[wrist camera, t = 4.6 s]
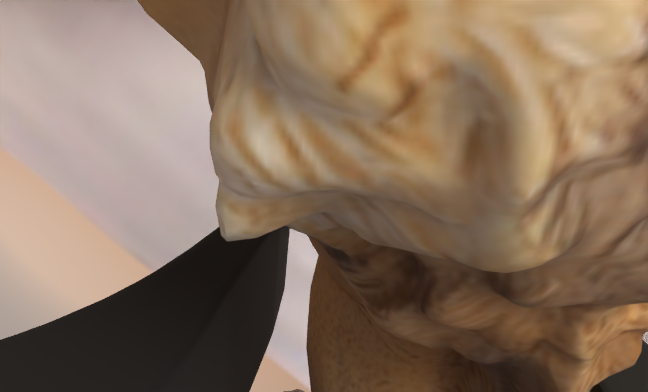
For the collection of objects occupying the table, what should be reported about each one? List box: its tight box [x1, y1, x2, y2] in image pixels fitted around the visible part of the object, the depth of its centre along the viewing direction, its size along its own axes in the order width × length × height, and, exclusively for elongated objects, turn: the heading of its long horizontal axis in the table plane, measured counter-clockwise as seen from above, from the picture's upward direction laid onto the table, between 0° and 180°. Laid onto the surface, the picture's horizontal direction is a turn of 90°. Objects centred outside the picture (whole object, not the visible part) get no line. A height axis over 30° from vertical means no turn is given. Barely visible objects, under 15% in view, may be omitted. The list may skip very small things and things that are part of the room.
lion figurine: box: [137, 0, 648, 392], centre depth 8 cm, size 15×5×9 cm, turn 5°
